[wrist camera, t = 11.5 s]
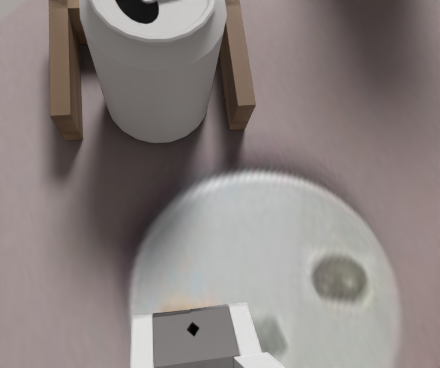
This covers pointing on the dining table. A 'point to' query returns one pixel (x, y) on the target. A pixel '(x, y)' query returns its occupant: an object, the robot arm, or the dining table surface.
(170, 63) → the can
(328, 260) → the dining table surface
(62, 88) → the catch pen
